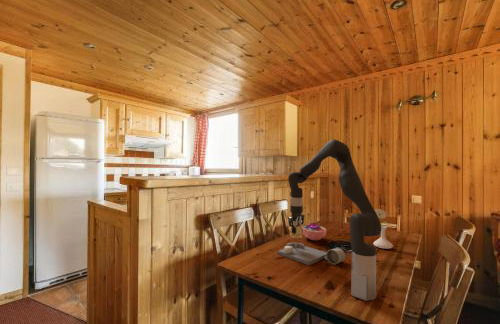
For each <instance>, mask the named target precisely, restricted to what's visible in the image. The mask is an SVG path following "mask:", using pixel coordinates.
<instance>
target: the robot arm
mask: <svg viewBox="0 0 500 324" xmlns="http://www.w3.org/2000/svg"><path fill="white" fill-rule="evenodd" d="M328 157H330V158H333V159H335V160H336V161H337V164H338V166H339V168H340V170H339V173H338V183H339V185H340V189H341V192H342V193H343V194H344V196H346V198H347V199H349V200H350V201H351V202H352V203H353V204H355V206H356V207H357V208H358V209H359V211H360V212H359V213H352V214H351V215H350V219H349V237H350V246H351V262H350V263H351V264H350V265H351V267H350V268H351V271H350V272H351V274H350V276H351V277H350V278H351V279H350V280H351V283H350V284H351V285H350V286H351V287H350V288H351V289H350V295H351V296H353V297H355V298H357V299H359V300H362V301H365V302H368V301H373V300H375V299H377V248H376V246H375V245H374V244H370V243H369V242H366V241H365V237H377V236H380V235H381V225H382V223H381V221H380V218H379V217H378V216H377V214H376V212H375V209H374V207H373V205H372V203H371V201H370V199H369V197H368V195H367V193H366V191H365V188H364V185H363V183H362V180H361V178H360V176H359V174H358V171H357V169H356V167H355V164H354V162H353V159H352V155H351V150H350V148H349V146H348V145H347V144H346V143H344V142H342V141H339V140H338V139H334V138H333V139H331V140H330V139H329V141H327V142H326V143H325V144H324V145H323V147H322V148H320V150H319V151H317V153H316V154H315V155H314V156H313V157H312V158H311V159H310V160H309V161H308V162H306V163H305V164H304V165H302V166H301V167H300V169H299V171H292V172H290V173H289V175H288V178H287V179H288V185H289V188H290V200H289V201H290V204H289V205H290V206H289V207H290V208H289V211H290V213H291V214H290V216H288V217H287V220H288V226H289V227H290V228H291V227H292V233H293V234H295V227H296V225H300V226H302V227H303V226H304V222H305V216H306V215H305V214H303V213H304V212H303V211H304V200H303V199H304V198H303V195H304V194H303V188H302V187H299V184H303V183H304V182H306V181H307V180H308V178H309V177H310V176H312V175H314V173H316V172H317V171H318V170H319V169H320V167H321V164H322V162H323V161H324V160H325V159H327V158H328Z"/></svg>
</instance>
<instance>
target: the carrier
mask: <svg viewBox="0 0 500 324" xmlns="http://www.w3.org/2000/svg"><path fill="white" fill-rule="evenodd" d="M305 245H306V244H304V243H302V242H301V243H300V242H289V243H286V245H285V246H284V247H283V248H282V249H279V250H277V255H278V256H281V257H285V258H287V259H290V260H293V261H295V262H297V263H301V264H303V265H307V266H311V265H313V264H315V263H317V262H319V261H322V260H325V258H324V257H325V256H326V254H327V252H326V251H322V250H319V249H316V248H313V247H309V246H307V245H306V246H305Z"/></svg>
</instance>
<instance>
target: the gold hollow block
mask: <svg viewBox="0 0 500 324" xmlns="http://www.w3.org/2000/svg"><path fill="white" fill-rule="evenodd" d="M302 227H303V225H302V226H300V225H297V224H296V227H295V234H293V233H292V227H290V233H289V234H290V235H289V236H290V238H292V239H293V238H294V239H301V238H303V228H302Z"/></svg>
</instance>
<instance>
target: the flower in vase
mask: <svg viewBox="0 0 500 324" xmlns="http://www.w3.org/2000/svg"><path fill="white" fill-rule="evenodd" d="M374 210H375V212H376V214H377V216H378V218H379V219H386V217H387V216H388V215H387V212H386V211H385V210H383V209H380V208H376V209H374ZM387 223H388V221H386V222H382V223H381V233H380V237H379V238H378V239H376V240H375V241H373V244H372V245H373V246H375V248H376V247H377V248H380V249H384V250H387V249H388V250H389V249H393V247H394V245H393V244H392V243H391V242H390V241H389V240H388V239H387V237H386V230H387V228H388V226H385V224H387Z"/></svg>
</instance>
